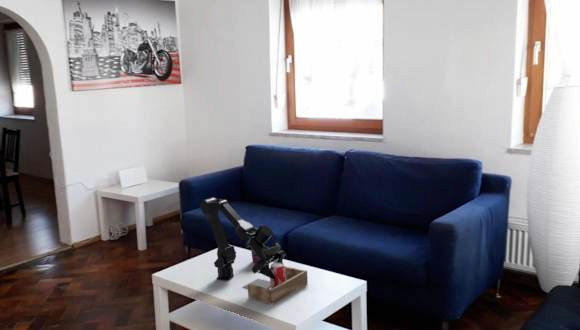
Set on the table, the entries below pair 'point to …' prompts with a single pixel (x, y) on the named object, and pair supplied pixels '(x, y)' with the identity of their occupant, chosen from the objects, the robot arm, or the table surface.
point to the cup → (254, 256)
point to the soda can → (277, 274)
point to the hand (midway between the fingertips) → (280, 276)
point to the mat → (259, 283)
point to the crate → (279, 287)
